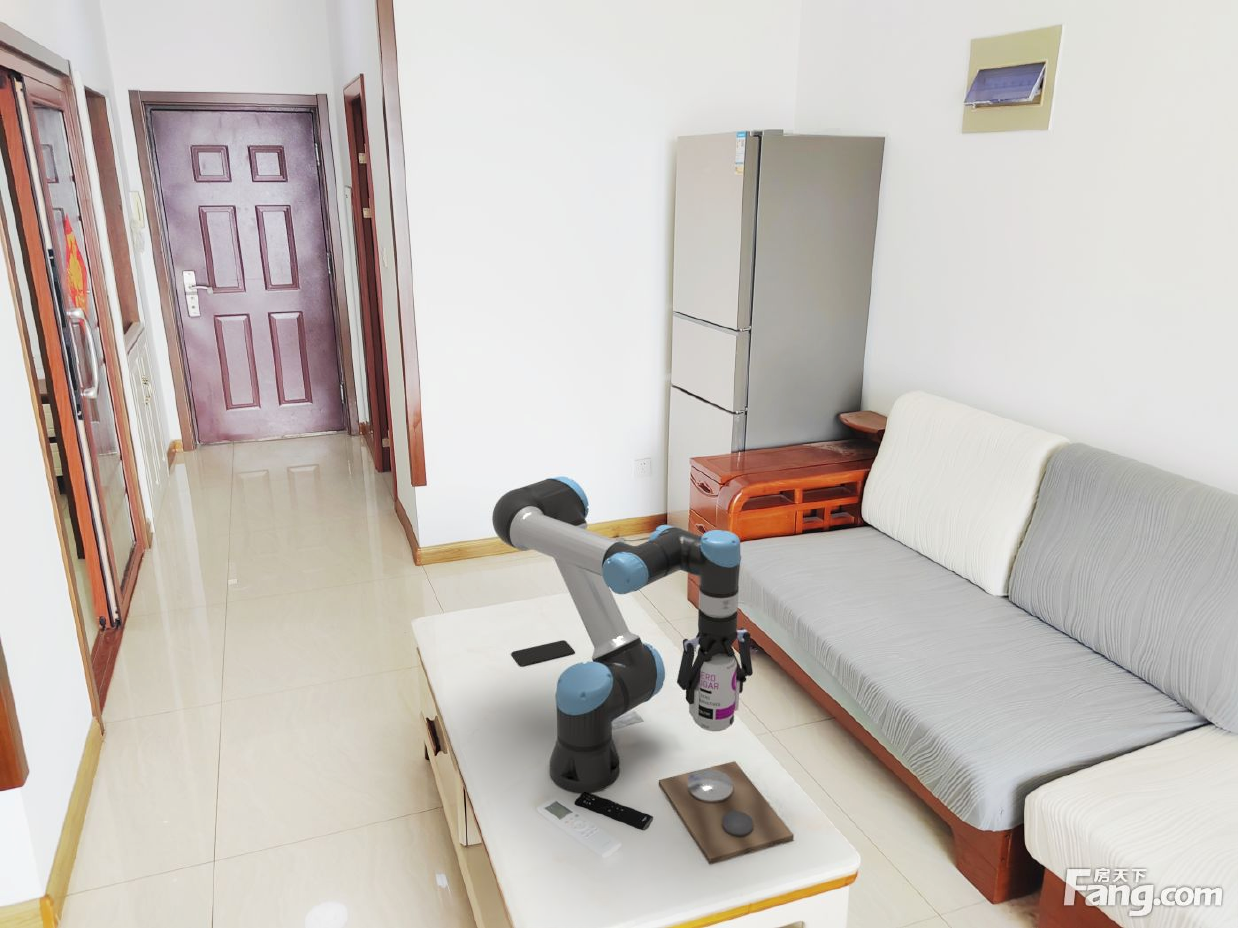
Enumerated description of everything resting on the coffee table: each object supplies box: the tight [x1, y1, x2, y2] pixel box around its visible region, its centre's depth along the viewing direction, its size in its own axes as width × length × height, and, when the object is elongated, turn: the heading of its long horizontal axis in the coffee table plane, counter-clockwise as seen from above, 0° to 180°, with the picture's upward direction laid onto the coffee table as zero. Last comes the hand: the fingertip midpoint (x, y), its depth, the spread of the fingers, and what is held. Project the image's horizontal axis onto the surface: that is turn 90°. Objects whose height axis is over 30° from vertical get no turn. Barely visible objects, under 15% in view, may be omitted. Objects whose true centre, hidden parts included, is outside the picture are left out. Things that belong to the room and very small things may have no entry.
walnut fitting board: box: [658, 760, 795, 865], centre depth 178 cm, size 18×24×1 cm
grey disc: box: [722, 811, 753, 837], centre depth 172 cm, size 6×6×1 cm
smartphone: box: [510, 639, 576, 668], centre depth 236 cm, size 8×1×16 cm
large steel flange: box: [687, 768, 733, 803], centre depth 183 cm, size 10×10×1 cm
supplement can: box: [692, 652, 738, 732], centre depth 175 cm, size 8×8×15 cm
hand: (713, 711), depth 177 cm, fingers closed on supplement can, 8 cm apart
